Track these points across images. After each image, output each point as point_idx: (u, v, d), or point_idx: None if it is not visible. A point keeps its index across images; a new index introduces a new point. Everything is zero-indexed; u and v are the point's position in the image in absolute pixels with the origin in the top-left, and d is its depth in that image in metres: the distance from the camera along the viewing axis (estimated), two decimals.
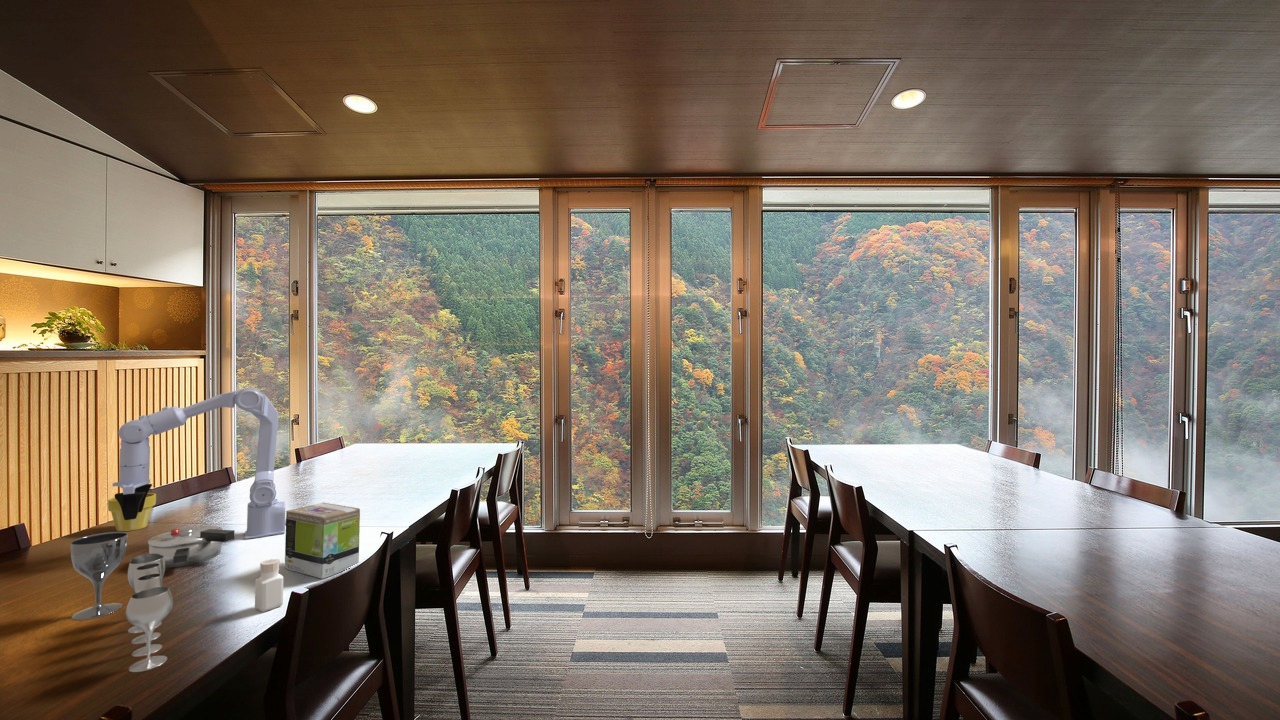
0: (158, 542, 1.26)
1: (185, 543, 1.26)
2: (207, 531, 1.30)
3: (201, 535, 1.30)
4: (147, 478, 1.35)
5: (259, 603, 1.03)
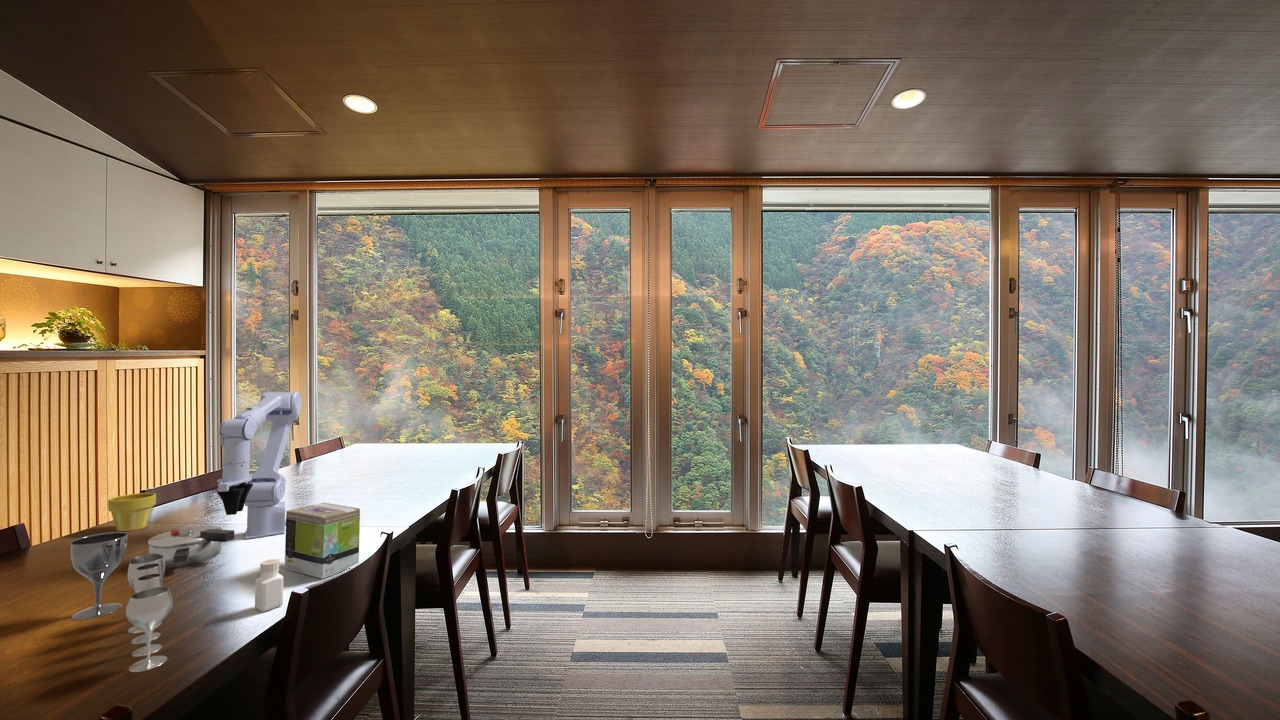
0: (158, 542, 1.26)
1: (185, 543, 1.26)
2: (207, 531, 1.30)
3: (201, 535, 1.30)
4: (245, 476, 1.37)
5: (259, 603, 1.03)
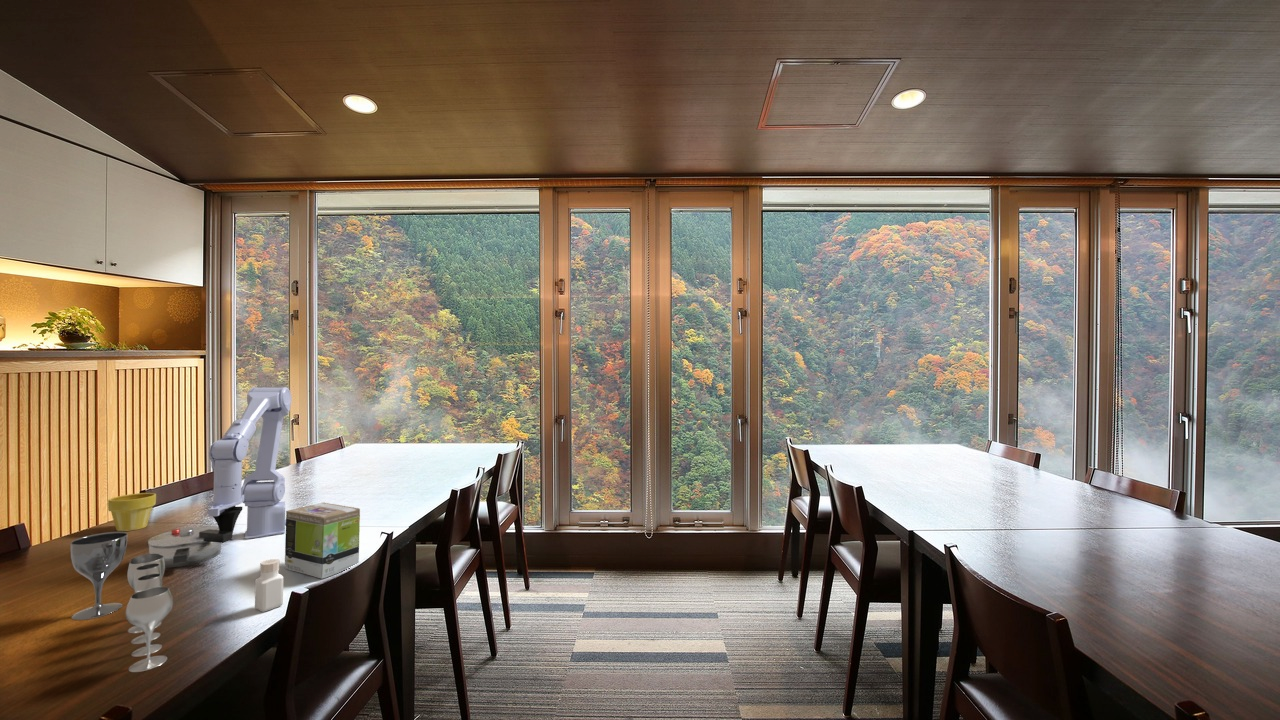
0: (157, 542, 1.26)
1: (183, 543, 1.26)
2: (206, 531, 1.30)
3: (200, 535, 1.30)
4: (237, 499, 1.33)
5: (259, 603, 1.03)
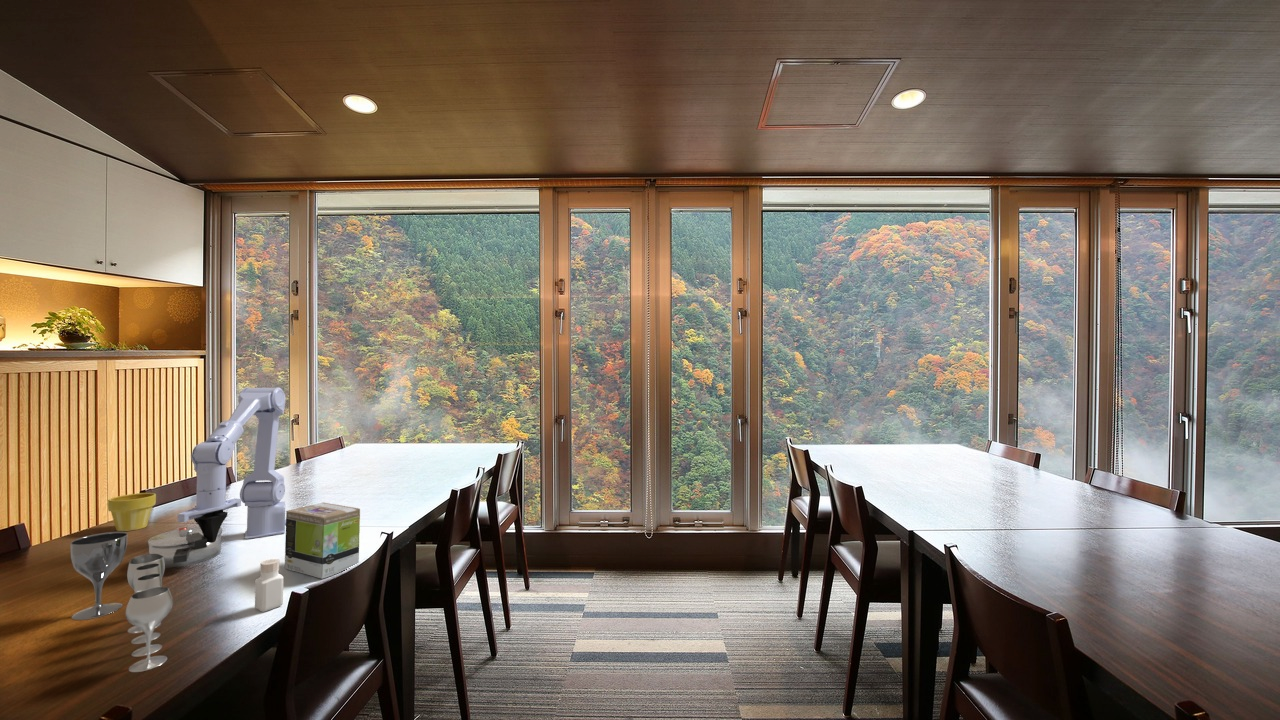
0: (153, 540, 1.27)
1: (167, 545, 1.25)
2: (190, 535, 1.27)
3: (186, 538, 1.27)
4: (216, 505, 1.27)
5: (259, 603, 1.03)
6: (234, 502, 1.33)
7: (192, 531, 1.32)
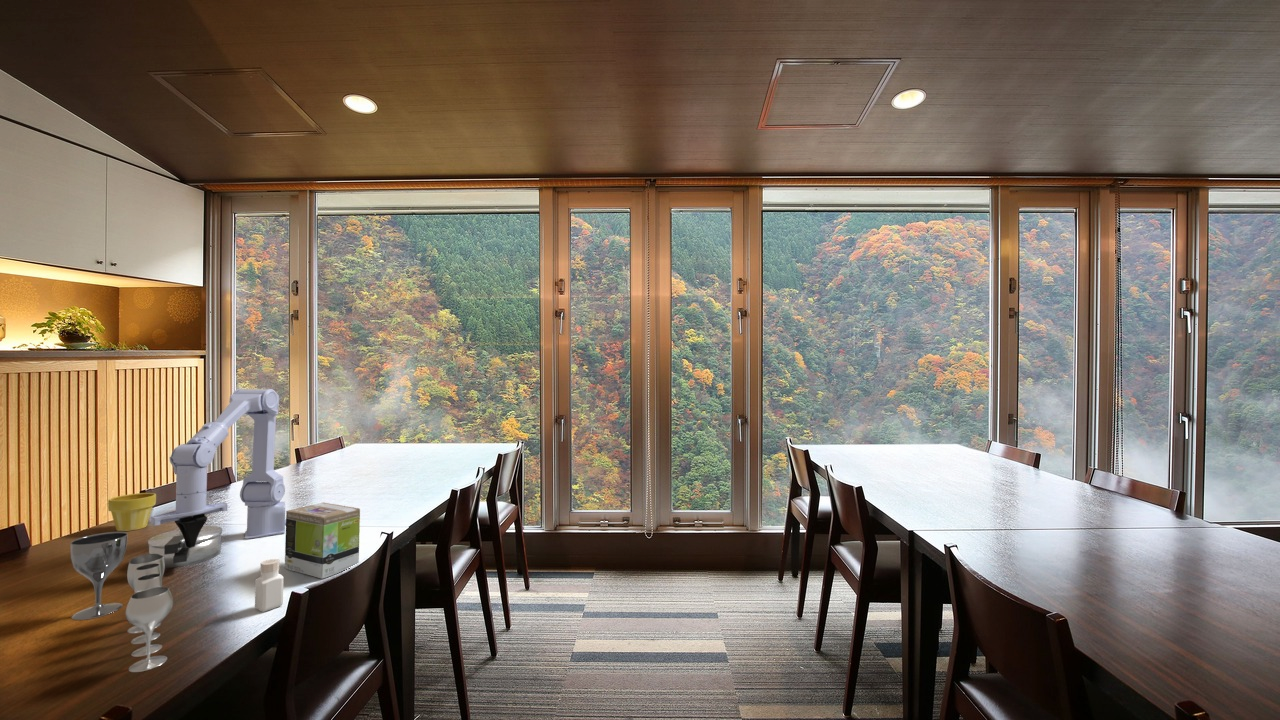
0: (156, 537, 1.29)
1: (155, 545, 1.25)
2: (175, 537, 1.25)
3: None
4: (191, 509, 1.23)
5: (259, 603, 1.03)
6: (218, 506, 1.29)
7: None
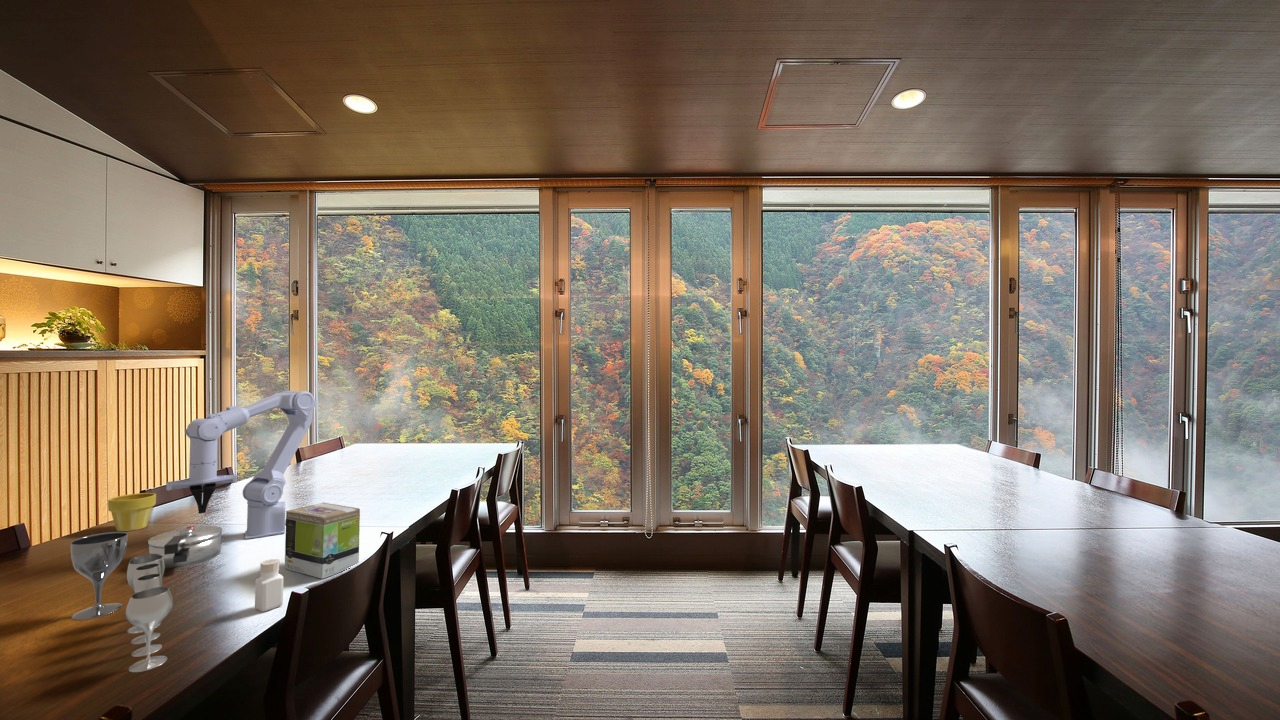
0: (156, 537, 1.29)
1: (155, 545, 1.25)
2: (175, 537, 1.25)
3: None
4: (199, 478, 1.35)
5: (259, 603, 1.03)
6: (227, 478, 1.40)
7: (190, 532, 1.31)
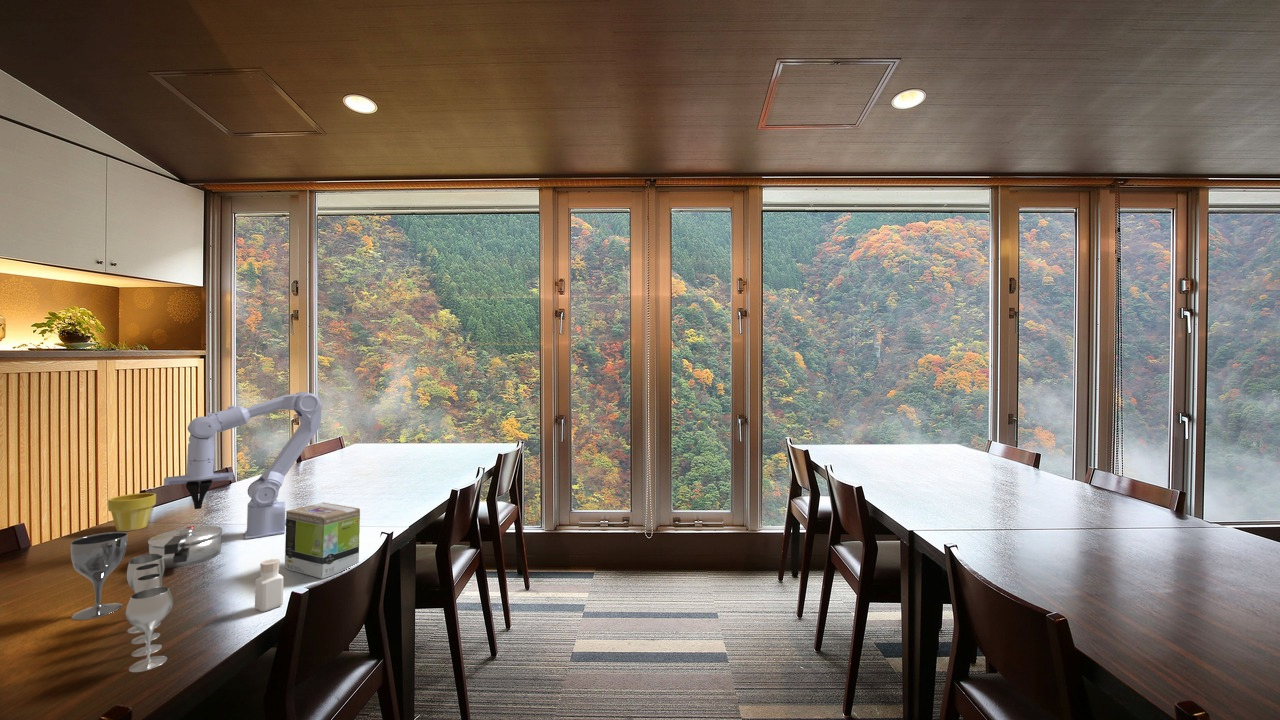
0: (156, 537, 1.29)
1: (155, 545, 1.25)
2: (175, 537, 1.25)
3: None
4: (194, 475, 1.38)
5: (259, 603, 1.03)
6: (222, 475, 1.43)
7: (190, 532, 1.31)
